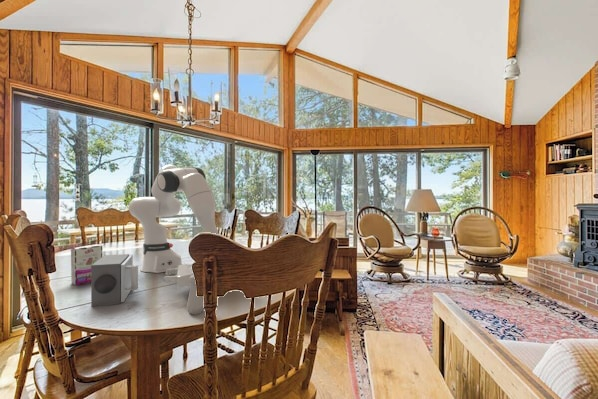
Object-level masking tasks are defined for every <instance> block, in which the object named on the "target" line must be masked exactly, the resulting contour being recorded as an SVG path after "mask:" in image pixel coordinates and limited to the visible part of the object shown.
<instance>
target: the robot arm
mask: <svg viewBox="0 0 598 399" xmlns="http://www.w3.org/2000/svg"><path fill="white" fill-rule="evenodd" d="M206 177H207V176H206V174H205V172H204V171H203V169H202V168H200V167H178V166H176V165H174V164H165V165H164V166H162V168H161V169H160V170H159V172H158V174H157V176H156V177H155V179H154V181H153V185H152V186H151V190H150V191H151V195H152V196H141V197H135V198H132V199H131V200H130V202H129V204H128V212H129V214H130V215H131V216H132V217H134V218H135V219H136V220H137V221H139V223H140V224H141V226H142V229H143V243H142V244H143V245H142V254H143V258H142V264H141V267H140V271H141V272H145V273H154V274H155V273H156V274H159V273H165V276H163V282H171V283H175V282H176V286H179V287H191V283H190V282H189V278H190V276H192V275H193V273H192V269H191V266H192V264H193V263H184V262H183V260H182V257H181V254H179V253H178V252H176V251H175V250H174V249H171V248H173V246H174V244H173V243H171V242H168V233H167V232H168V230H167V227H166V226H165V225H164V224H161V223H159V222H157V218H168V217H169V218H170V217H173V216H177V215H179V214H180V211H181V209H182V208H181V206H182V205H181V202H180V200H179V199H178V198H176V197H175V195H176V193H181V192H184V195H185V197H186V201H187V203H188V205H189V207H190V210H191V211H192V213H193V215H194V216H195V218H196V220H197V221H198V223H199V225H200V227H201V229H202V231H203V232H211V233H216V234H219V235H220V233H219V230H218V228H217V225H216V218H215V216H216V201H215V197H214V194H213V191H212V189H211V187H210V185H209V183H208V181H207V180H206V179H207V178H206ZM203 232H202V233H203ZM174 274H175V275H174Z"/></svg>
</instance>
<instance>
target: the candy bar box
mask: <svg viewBox="0 0 598 399" xmlns="http://www.w3.org/2000/svg"><path fill="white" fill-rule="evenodd" d="M102 257H103V245H102V244H99V243H98V244H90V245H82V246H77V247H70V262H71V263H70V266H71V268H70V270H71V273H70V274H71V284H72V285H74V286H80V285H85V284H91V265H92V264H94V263H95V262H96V261H98V260H99V259H100V258H102Z"/></svg>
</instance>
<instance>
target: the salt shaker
mask: <svg viewBox="0 0 598 399" xmlns="http://www.w3.org/2000/svg"><path fill="white" fill-rule="evenodd" d="M189 282H190V283H191V286H190V289H189V293H188V298H187V303H186V310H187V311H188V314H189V315H193V314H194V315H195V316H196V315H199V313H200V312H201V313H202V312H203V310H204V308H203V299H204V296H203V297H197V296H196V284H195V279H194V275H192V276H190V278H189ZM201 313H200V314H201Z"/></svg>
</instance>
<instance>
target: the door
mask: <svg viewBox="0 0 598 399" xmlns="http://www.w3.org/2000/svg"><path fill="white" fill-rule="evenodd" d="M133 258H134V257H133V254H129V257H128V258H127V259H126V260H125V261H124V262H123V263H122V264H121V303H124V302H126V301H125V300H127V298H128V297H129V294H130V292H131V291H135V290H138V289H139V265H138V264H136V265H135V264H134V265H133V261H134V260H133Z"/></svg>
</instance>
